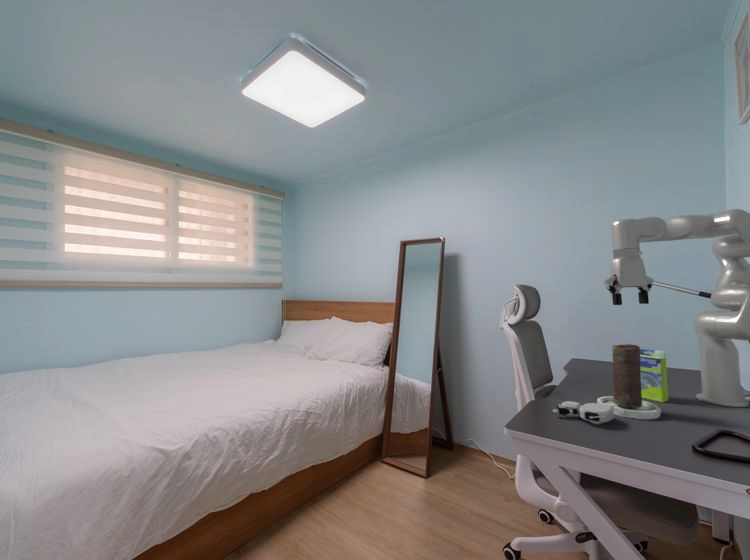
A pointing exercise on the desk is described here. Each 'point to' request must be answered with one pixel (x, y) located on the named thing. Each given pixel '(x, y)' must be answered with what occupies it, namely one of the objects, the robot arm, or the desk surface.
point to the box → (653, 375)
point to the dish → (632, 409)
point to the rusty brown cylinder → (627, 376)
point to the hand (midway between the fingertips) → (630, 304)
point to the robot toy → (586, 411)
